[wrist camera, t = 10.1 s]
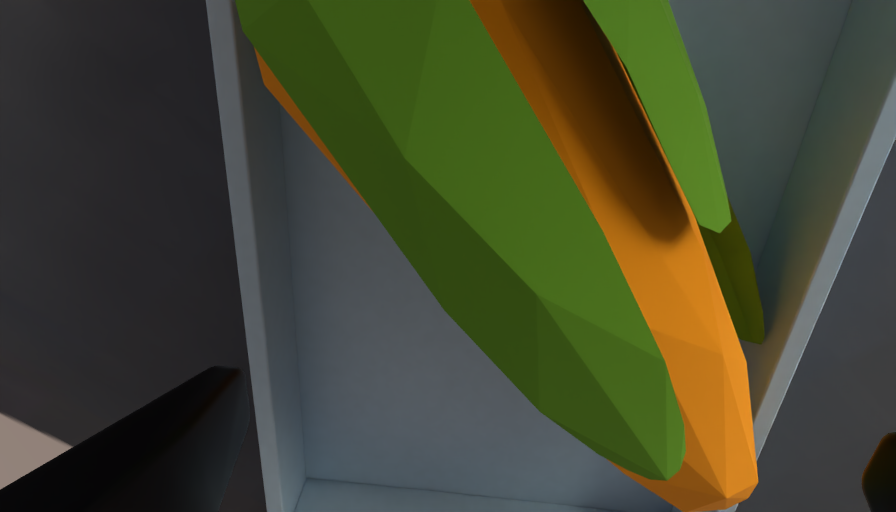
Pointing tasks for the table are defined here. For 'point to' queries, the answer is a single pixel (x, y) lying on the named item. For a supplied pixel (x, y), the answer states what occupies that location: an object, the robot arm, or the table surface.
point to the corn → (549, 207)
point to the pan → (450, 349)
